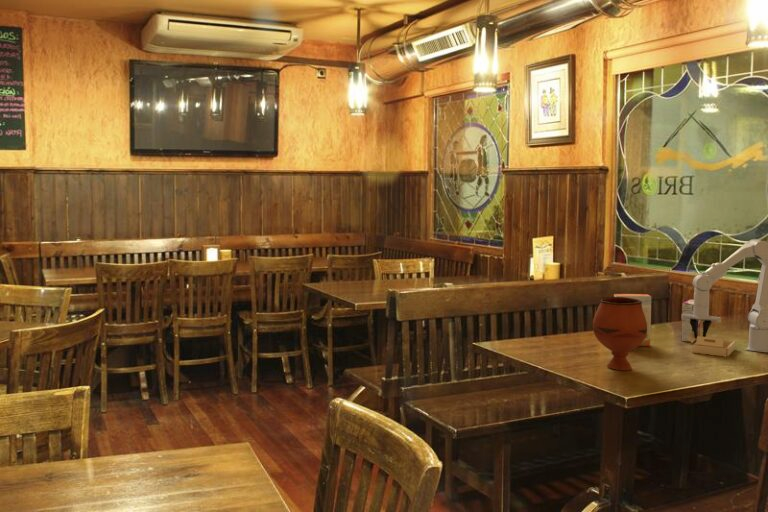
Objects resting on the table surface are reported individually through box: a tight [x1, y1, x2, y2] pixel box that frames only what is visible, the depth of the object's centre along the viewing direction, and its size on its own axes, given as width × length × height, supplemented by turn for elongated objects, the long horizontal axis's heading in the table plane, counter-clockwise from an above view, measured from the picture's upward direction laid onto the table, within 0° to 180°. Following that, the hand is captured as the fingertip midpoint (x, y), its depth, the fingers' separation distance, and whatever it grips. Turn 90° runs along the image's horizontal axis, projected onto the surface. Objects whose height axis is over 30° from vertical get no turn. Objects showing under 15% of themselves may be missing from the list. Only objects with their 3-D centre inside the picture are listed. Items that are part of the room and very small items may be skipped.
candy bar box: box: [680, 299, 701, 343], centre depth 324 cm, size 11×5×16 cm, turn 143°
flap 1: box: [687, 332, 697, 344], centre depth 308 cm, size 3×13×1 cm
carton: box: [691, 339, 736, 358], centre depth 304 cm, size 13×17×3 cm
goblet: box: [592, 296, 647, 371], centre depth 277 cm, size 19×19×25 cm
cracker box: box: [613, 293, 652, 347], centre depth 314 cm, size 14×6×21 cm, turn 84°
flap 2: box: [695, 336, 725, 347], centre depth 298 cm, size 3×10×1 cm
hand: (700, 338), depth 308 cm, fingers open, 2 cm apart
